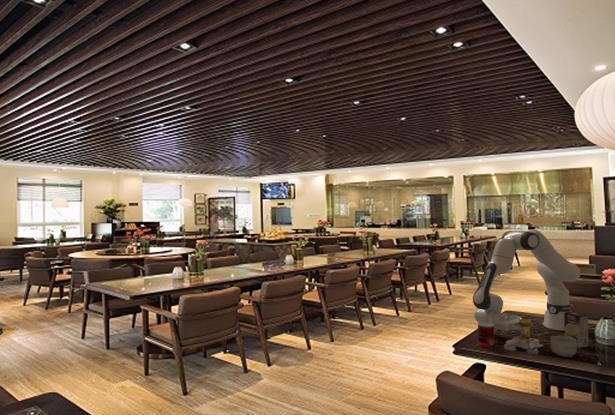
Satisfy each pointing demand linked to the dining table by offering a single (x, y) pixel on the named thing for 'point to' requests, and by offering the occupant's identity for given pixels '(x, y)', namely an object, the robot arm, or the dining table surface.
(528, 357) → the dining table surface
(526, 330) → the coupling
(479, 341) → the canned food
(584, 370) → the dining table surface
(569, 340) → the teacup
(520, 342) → the coupling seat
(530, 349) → the shaft
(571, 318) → the coffee box
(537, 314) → the dining table surface
